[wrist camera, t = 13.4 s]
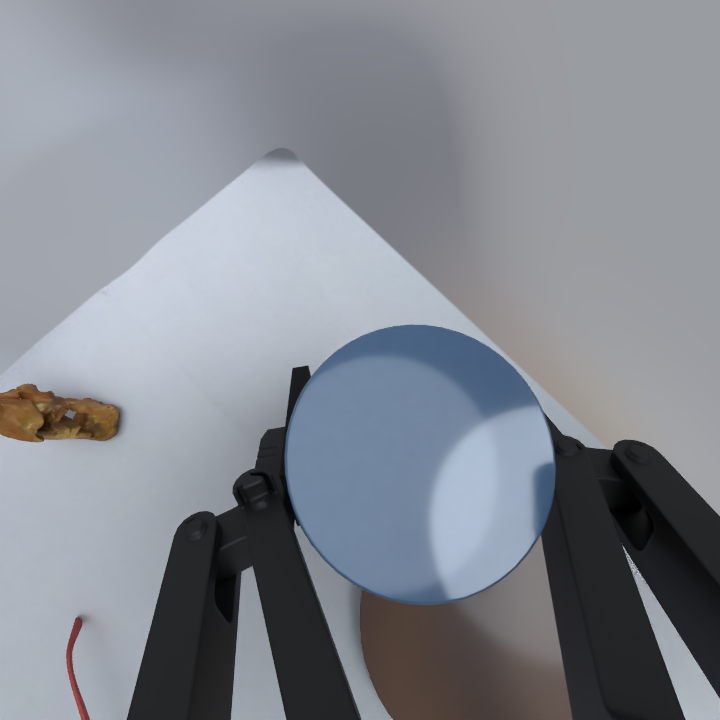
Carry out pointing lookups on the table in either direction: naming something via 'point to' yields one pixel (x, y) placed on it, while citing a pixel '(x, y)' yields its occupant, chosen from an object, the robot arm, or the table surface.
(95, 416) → the figurine
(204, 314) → the table surface
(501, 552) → the blue cylinder
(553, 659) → the plate
